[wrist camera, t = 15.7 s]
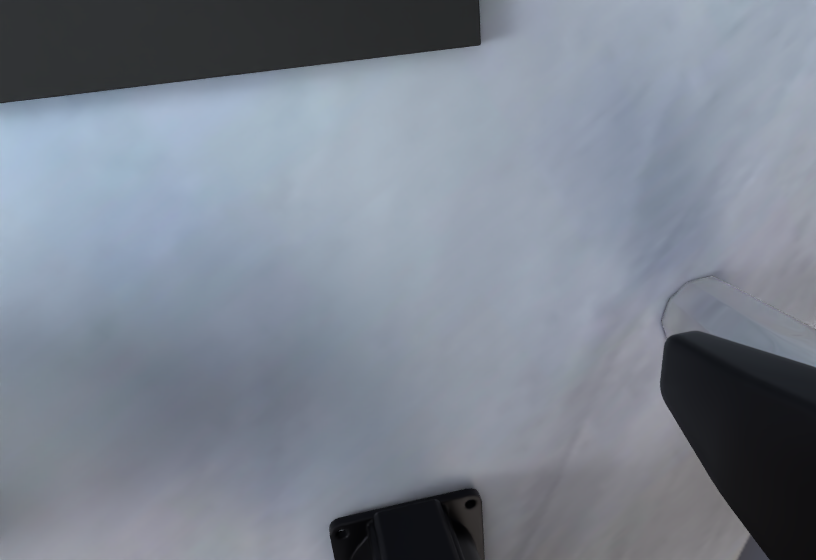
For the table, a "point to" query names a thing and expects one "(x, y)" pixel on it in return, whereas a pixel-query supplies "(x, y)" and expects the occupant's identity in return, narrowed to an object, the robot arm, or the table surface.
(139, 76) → the desk mat
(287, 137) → the table surface
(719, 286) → the milkshake
